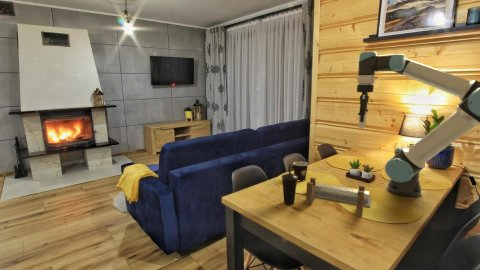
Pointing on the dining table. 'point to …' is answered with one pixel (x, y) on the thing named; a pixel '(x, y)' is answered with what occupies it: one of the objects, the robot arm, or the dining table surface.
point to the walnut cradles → (311, 195)
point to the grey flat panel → (342, 199)
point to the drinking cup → (289, 187)
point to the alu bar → (339, 191)
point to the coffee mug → (300, 169)
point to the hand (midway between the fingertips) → (362, 126)
